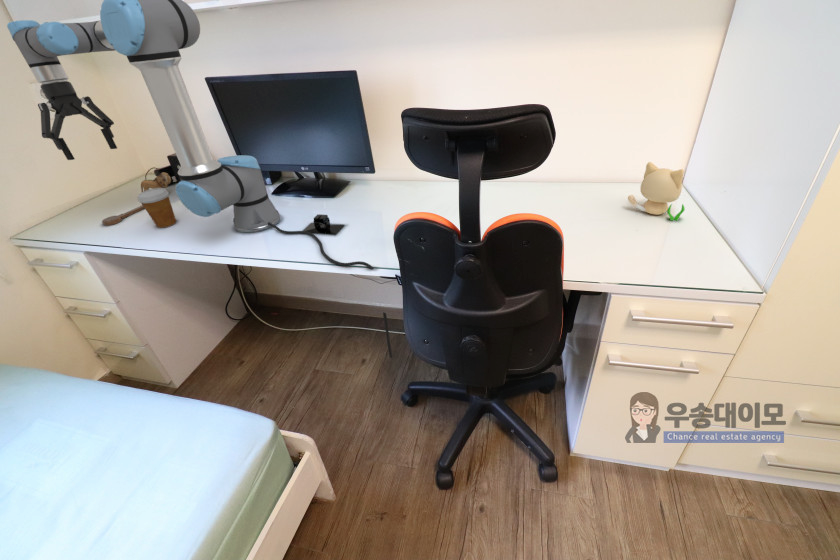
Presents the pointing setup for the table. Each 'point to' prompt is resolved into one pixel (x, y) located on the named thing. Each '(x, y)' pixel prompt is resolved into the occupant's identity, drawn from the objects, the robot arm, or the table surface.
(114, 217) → the spoon
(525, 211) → the table surface
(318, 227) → the build plate
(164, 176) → the lion figurine
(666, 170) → the kitten
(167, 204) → the disposable coffee cup
